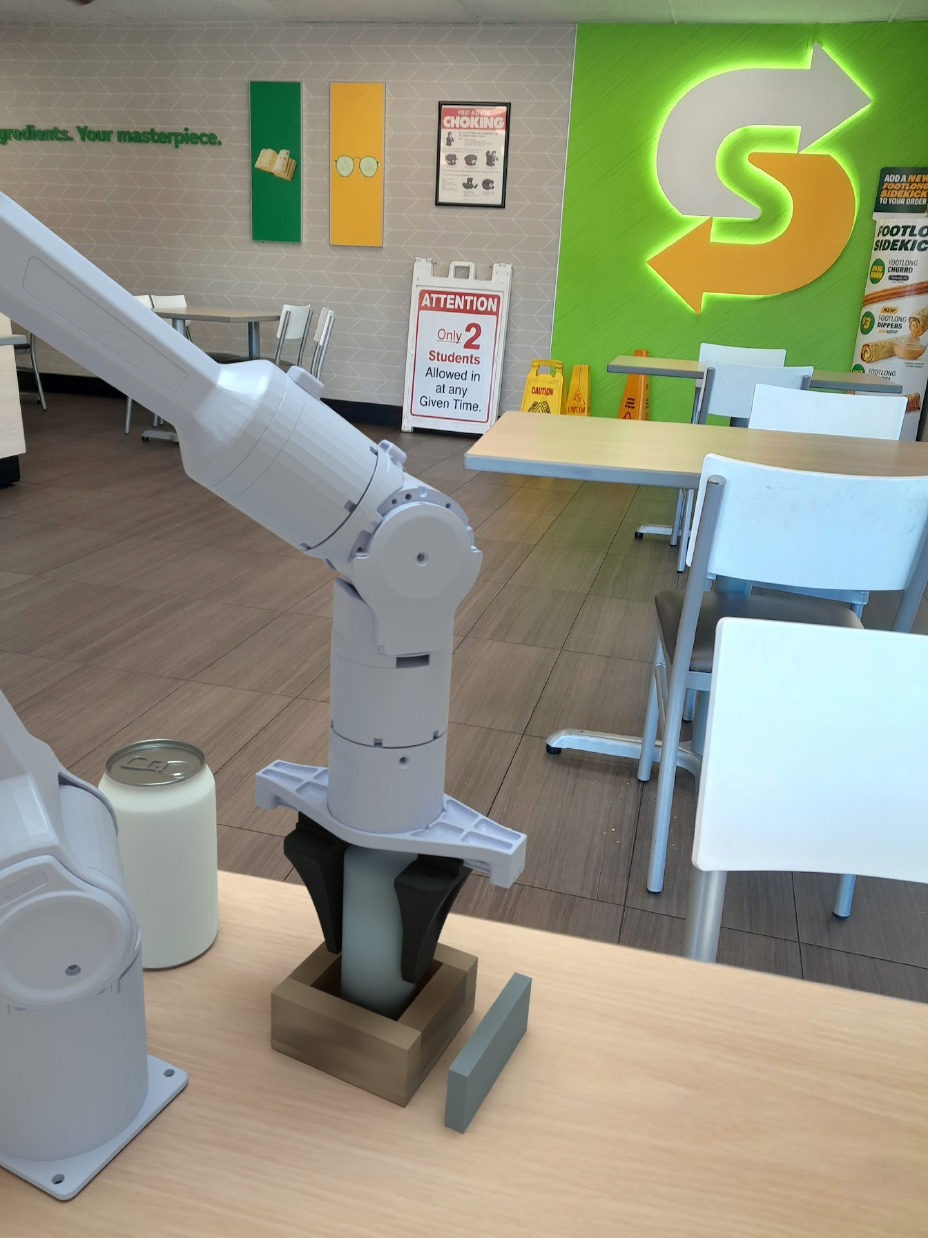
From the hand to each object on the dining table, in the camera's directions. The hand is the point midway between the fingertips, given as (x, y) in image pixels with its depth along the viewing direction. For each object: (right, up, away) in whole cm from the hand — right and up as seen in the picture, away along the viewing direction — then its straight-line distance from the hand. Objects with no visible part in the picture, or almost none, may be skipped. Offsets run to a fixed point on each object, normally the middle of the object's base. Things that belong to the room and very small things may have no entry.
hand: (379, 957), depth 52 cm
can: (-14, -2, +8) cm, 16 cm away
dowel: (0, -3, +1) cm, 3 cm away
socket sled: (0, -4, +1) cm, 5 cm away
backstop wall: (+6, -6, -1) cm, 8 cm away
